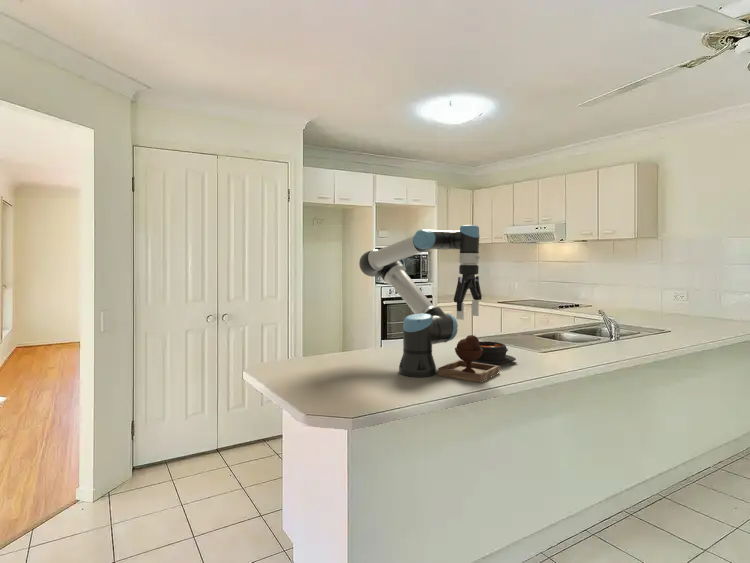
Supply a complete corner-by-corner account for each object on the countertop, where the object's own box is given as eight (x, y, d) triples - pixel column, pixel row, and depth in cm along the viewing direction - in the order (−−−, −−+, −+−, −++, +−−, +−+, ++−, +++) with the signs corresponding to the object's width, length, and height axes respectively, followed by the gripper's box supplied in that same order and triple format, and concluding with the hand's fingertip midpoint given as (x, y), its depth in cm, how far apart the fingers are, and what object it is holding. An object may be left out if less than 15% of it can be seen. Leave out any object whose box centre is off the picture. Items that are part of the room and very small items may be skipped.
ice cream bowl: (477, 368, 195) (478, 332, 194) (485, 375, 184) (486, 337, 183) (452, 368, 194) (452, 332, 193) (458, 375, 183) (458, 337, 182)
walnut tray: (480, 382, 177) (480, 374, 177) (438, 375, 187) (438, 368, 187) (499, 373, 191) (499, 365, 191) (458, 366, 202) (458, 359, 202)
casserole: (502, 356, 222) (502, 339, 222) (524, 366, 204) (524, 346, 204) (453, 359, 216) (453, 341, 216) (471, 369, 198) (471, 349, 198)
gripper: (463, 265, 175) (462, 321, 177) (490, 264, 195) (489, 315, 197) (445, 264, 180) (444, 320, 181) (473, 263, 200) (472, 313, 201)
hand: (467, 317), depth 189 cm, fingers open, 13 cm apart
